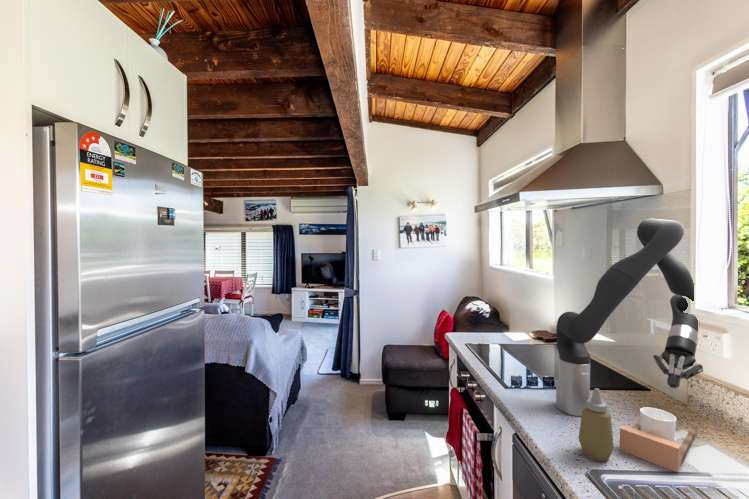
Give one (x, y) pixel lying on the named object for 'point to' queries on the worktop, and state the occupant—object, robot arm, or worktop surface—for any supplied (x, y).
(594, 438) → the squeeze bottle
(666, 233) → the robot arm
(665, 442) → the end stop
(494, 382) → the worktop surface
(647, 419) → the white cup
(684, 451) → the rails
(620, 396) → the worktop surface
